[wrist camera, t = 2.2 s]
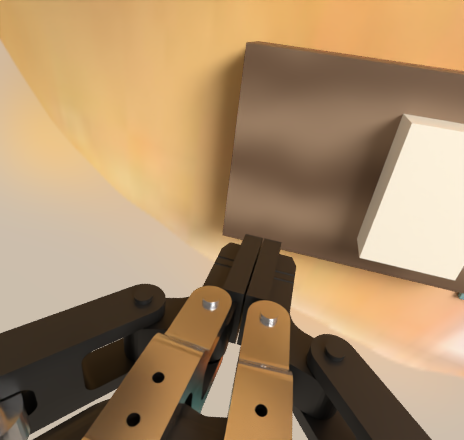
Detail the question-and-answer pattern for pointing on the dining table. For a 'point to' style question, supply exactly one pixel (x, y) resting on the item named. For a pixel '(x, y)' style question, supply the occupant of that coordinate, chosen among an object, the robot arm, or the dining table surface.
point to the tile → (419, 201)
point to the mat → (461, 296)
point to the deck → (325, 146)
